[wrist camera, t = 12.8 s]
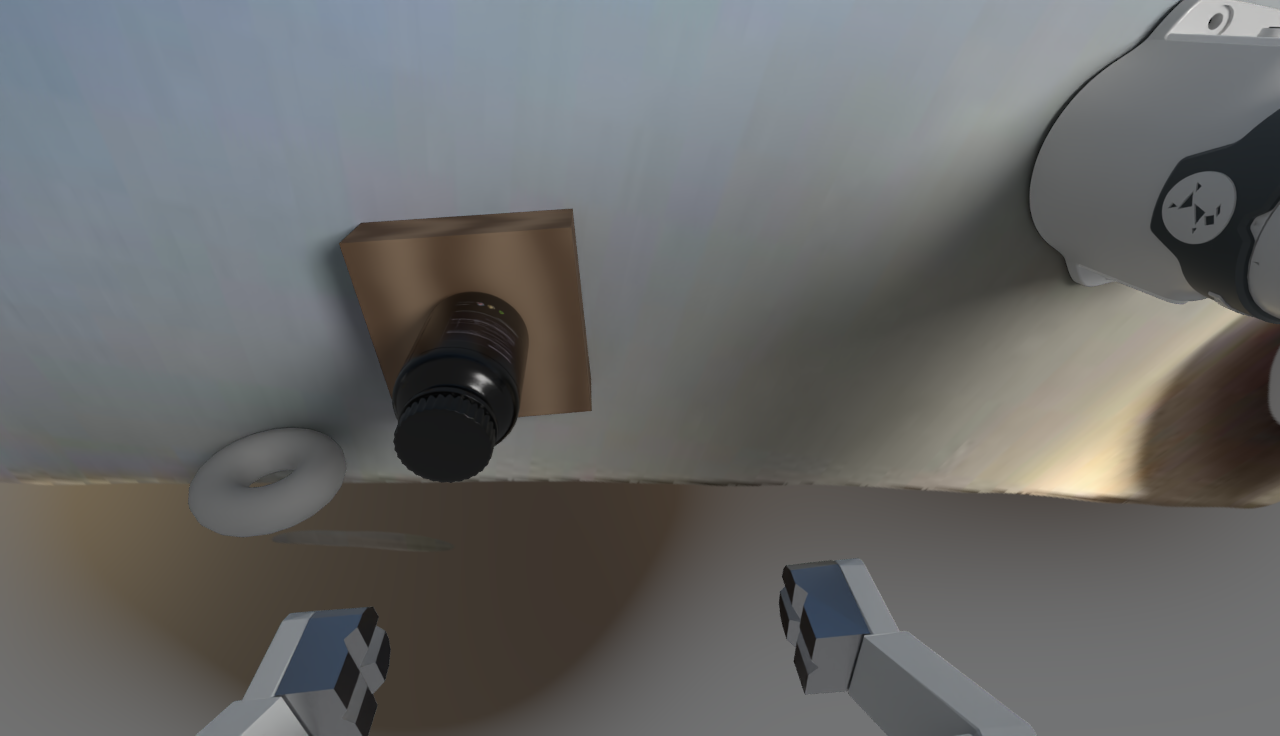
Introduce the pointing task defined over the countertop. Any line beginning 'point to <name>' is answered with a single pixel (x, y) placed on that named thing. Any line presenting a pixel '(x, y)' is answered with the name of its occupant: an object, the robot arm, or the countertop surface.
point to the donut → (274, 507)
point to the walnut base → (479, 262)
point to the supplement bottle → (460, 386)
